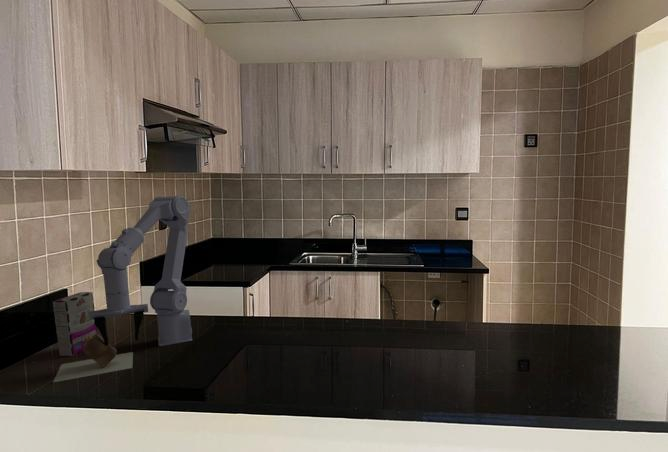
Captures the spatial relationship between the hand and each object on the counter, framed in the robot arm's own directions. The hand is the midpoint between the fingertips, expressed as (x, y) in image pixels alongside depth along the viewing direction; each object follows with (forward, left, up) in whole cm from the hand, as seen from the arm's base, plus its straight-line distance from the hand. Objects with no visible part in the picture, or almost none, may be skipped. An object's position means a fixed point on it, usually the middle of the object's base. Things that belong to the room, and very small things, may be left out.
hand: (122, 341), depth 130 cm
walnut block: (+3, 0, -4) cm, 5 cm away
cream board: (+7, 0, -6) cm, 9 cm away
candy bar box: (+13, -19, -6) cm, 24 cm away
